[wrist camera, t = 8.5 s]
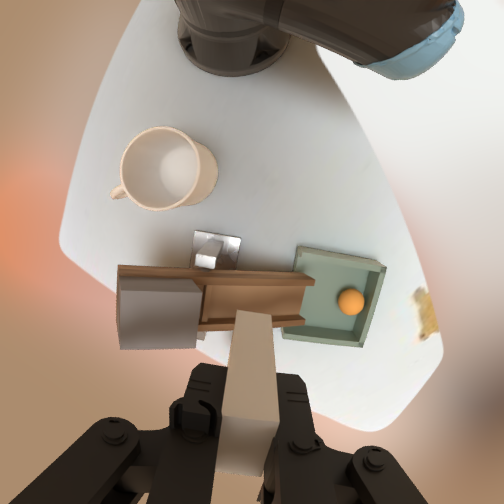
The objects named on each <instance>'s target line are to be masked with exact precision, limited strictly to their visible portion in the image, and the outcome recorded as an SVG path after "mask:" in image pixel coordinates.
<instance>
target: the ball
mask: <svg viewBox="0 0 504 504" xmlns="http://www.w3.org/2000/svg"><path fill="white" fill-rule="evenodd" d="M338 305H339V308H340V310H341V311H342V312H343V313H344V314H346V315H356V314H358V313H359V312H360V311H361V310H362V309H363V307H364V297H363V295H362V293H361V292H360V291H358V290H356V289H347V290H345V291H343V292H342V293H341V295H340V296H339V299H338Z"/></svg>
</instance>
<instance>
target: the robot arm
mask: <svg viewBox="0 0 504 504" xmlns="http://www.w3.org/2000/svg"><path fill="white" fill-rule="evenodd" d="M175 2H176V4H177V6H178V8H179V10H180V12H181V13H180V18H179V23H178V39H179V43H180V45H181V47H182V49H183V51H184V53H185V55H186V56H187V57H188V59H189V60H190V61H191V62H192V63H193V64H194V65H196V66H197V67H199V68H200V69H202V70H204V71H206V72H209V73H212V74H215V75H220V76H231V77H233V76H244V75H249V74H253V73H256V72H258V71H261V70H263V69H265V68H267V67H268V66H270V65H271V64H273V63H274V62H275V61H276V60H277V59H278V58H279V57H280V56H281V55H282V54H283V52H284V51H285V49H286V47H287V45H288V42H289V38H290V34H291V35H294V36H296V37H299V38H301V39H304V40H307V41H309V42H311V43H314V44H316V45H319V46H321V47H323V48H326V49H328V50H330V51H332V52H335V53H337V54H339V55H341V56H343V57H345V58H347V59H349V60H351V61H353V63H354V64H355V65H357V66H359V67H363V68H368V69H370V70H372V71H374V72H376V73H378V74H380V75H382V76H384V77H386V78H389V79H392V80H408V79H411V78H414V77H417V76H419V75H420V74H422V73H424V72H426V71H427V70H429V69H430V68H431V67H433V66H434V65H435V64H436V63H437V62H438V61H439V60H440V59H442V58H443V57H444V55H445V54H446V53H447V52H448V51H449V50H450V48H451V47H452V46H453V44H454V43H455V41H456V39H455V36H456V35H457V34H458V33H460V32H461V29H462V27H463V23H464V11H463V8H462V7H461V5H460V4H459V2H458V0H175ZM263 470H264V482H263V484H262V487H261V490H260V492H259V495H258V498H257V501H259V502H260V500H261V504H428V503H427V501H426V500H425V499H424V498H423V496H422V495H421V493H420V492H419V491H418V489H417V488H416V486H415V485H414V484H413V482H412V481H411V480H410V478H409V477H408V476H407V474H406V473H405V472H404V470H403V469H402V468H401V466H400V465H399V463H398V462H397V461H396V459H395V458H394V457H393V455H392V454H390V453H389V452H388V451H387V450H385V449H383V448H381V447H377V446H365V447H362V448H360V449H358V450H357V451H356V452H355V453H354V454H350V453H345V452H341V451H337V450H334V449H331V448H329V447H327V446H326V445H325V444H324V442H323V440H322V439H321V438H320V437H319V436H318V435H317V434H316V433H315V428H314V424H313V418H312V413H311V408H310V403H309V398H308V395H307V388H306V384H305V382H304V381H303V380H302V379H301V378H300V376H299V375H295V374H285V373H276V367H275V355H274V343H273V331H272V319H271V315H269V314H262V313H255V312H248V311H242V310H237V313H236V320H235V326H234V333H233V339H232V346H231V352H230V359H229V365H228V367H224V366H218V365H211V364H206V363H200V364H198V365H197V366H196V367H195V368H194V369H193V370H192V372H191V376H190V379H189V382H188V385H187V389H186V391H185V394H184V397H182V398H179V399H177V400H176V401H174V402H173V403H172V405H171V406H170V408H169V426H168V427H166V428H163V429H160V430H152V431H151V430H150V431H149V430H145V431H143V430H137V428H136V427H135V425H133V424H132V423H131V422H129V421H128V420H125V419H122V418H119V417H118V418H117V417H108V418H104V419H101V420H99V421H97V422H96V423H94V424H93V425H92V426H91V427H90V428H89V429H88V430H87V431H86V432H85V433H84V434H83V435H82V436H81V437H80V438H79V439H77V441H75V442H74V443H73V444H72V445H71V446H70V447H69V448H68V449H67V450H66V451H65V452H64V453H63V454H62V455H61V456H59V457H58V458H57V459H56V460H55V461H54V462H53V463H52V464H51V465H50V466H49V467H48V468H47V469H46V470H44V471H43V472H42V473H41V474H40V475H39V476H38V477H37V478H36V479H35V480H34V481H33V482H32V483H30V485H28V486H27V487H26V488H25V489H24V490H23V491H22V492H21V493H20V494H18V495H17V496H16V497H15V498H14V499H13V500H12V501H11V502H10V503H9V504H137V503H138V501H139V500H140V499H141V497H142V496H143V494H144V493H149V496H148V499H147V502H146V504H210V503H211V496H212V488H213V480H214V473H215V472H222V473H230V474H238V475H247V476H259V477H261V476H262V473H263Z"/></svg>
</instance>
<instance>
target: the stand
mask: <svg viewBox="0 0 504 504" xmlns="http://www.w3.org/2000/svg"><path fill="white" fill-rule="evenodd" d="M240 240H241V238H239V237H233V236H227V235H221V234H215V233H210V232H204V231H198V230H195V231H194V238H193V246H192V253H191V260H190V268H193V269H200V268H202V267H205V268H209V269H216V270H236V264H237V258H238V252H239V246H240ZM206 333H207V331H203V332H197V339H198V340H203V341H204V339H205V336H206Z"/></svg>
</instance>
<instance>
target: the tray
mask: <svg viewBox="0 0 504 504" xmlns="http://www.w3.org/2000/svg"><path fill="white" fill-rule="evenodd" d="M386 269H387V267H386V266H384V265H383V264H381V263H379V262H378V261H376V260H372V259H367V258H362V257H357V256H351V255H346V254H341V253H335V252H330V251H324V250H319V249H313V248H308V247H302V246H298V248H297V253H296V257H295V262H294V267H293V271H292V272H300V273H305V274H306V275H308V276H310V277H312V278H313V279H315V280H316V281H315V285H314V286H306V288H305V292H304V297H303V301H302V305H301V309H300V313H299V315H301V316H302V317H303V318H305V319H306V321H305V325H301V326H290V327H281V332H282V337H283V339H289V340H297V341H304V342H313V343H321V344H330V345H340V346H350V347H361V348H363V345H364V342H365V339H366V336H367V333H368V330H369V327H370V324H371V321H372V318H373V315H374V311H375V308H376V305H377V301H378V298H379V295H380V291H381V288H382V284H383V280H384V277H385V273H386ZM347 289H356V290H358V291H360V292H361V293H362V295H363V297H364V307H363V309H362V310H361V311H360V312H359V313H358V314H356V315H346V314H344V313H343V312H342V311H341V310H340V308H339V305H338V299H339V296H340V295H341V293H342V292H343V291H345V290H347Z"/></svg>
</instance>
